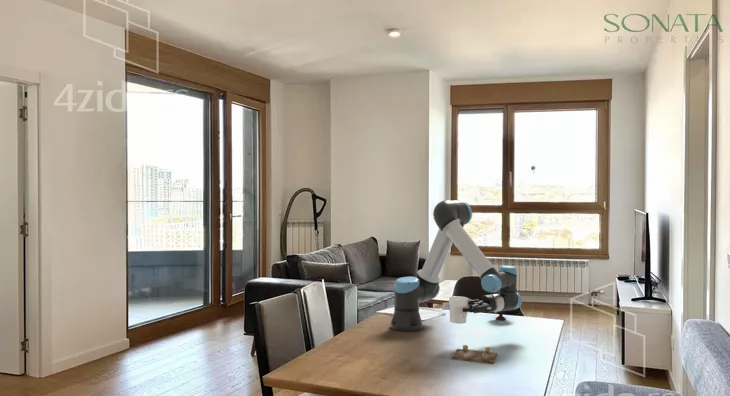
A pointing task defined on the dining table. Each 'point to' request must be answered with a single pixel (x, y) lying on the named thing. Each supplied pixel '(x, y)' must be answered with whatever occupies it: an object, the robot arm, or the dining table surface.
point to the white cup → (457, 302)
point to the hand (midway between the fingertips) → (449, 308)
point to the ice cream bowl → (500, 312)
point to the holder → (474, 355)
